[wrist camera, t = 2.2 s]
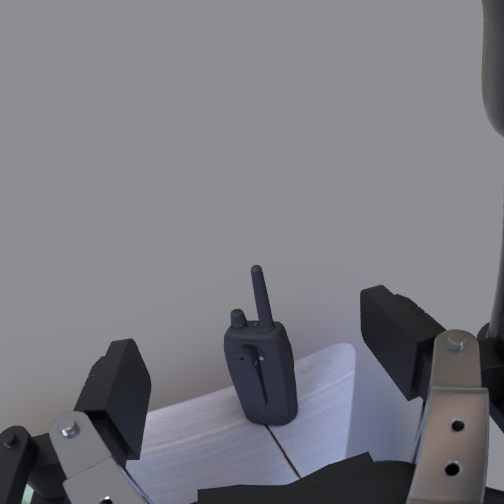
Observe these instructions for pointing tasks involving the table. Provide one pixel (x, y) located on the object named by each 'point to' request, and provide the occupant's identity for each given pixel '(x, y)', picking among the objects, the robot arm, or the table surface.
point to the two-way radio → (261, 361)
